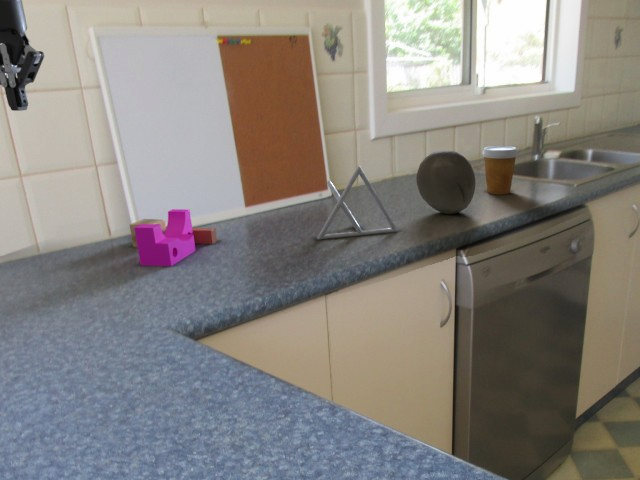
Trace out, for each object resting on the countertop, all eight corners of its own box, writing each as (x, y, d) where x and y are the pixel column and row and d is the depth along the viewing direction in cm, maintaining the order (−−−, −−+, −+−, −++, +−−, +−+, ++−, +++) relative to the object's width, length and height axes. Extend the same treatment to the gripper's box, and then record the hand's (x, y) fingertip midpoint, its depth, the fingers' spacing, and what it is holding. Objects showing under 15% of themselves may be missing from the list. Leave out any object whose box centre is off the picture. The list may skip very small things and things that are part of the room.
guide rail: (143, 241, 142) (140, 227, 141) (148, 238, 144) (146, 225, 143) (212, 244, 138) (210, 230, 137) (217, 242, 140) (215, 228, 139)
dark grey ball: (476, 207, 166) (477, 146, 161) (472, 221, 153) (473, 155, 148) (421, 206, 168) (420, 146, 163) (412, 219, 155) (411, 155, 150)
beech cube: (133, 247, 138) (129, 224, 136) (147, 241, 142) (143, 218, 140) (154, 249, 136) (150, 225, 135) (168, 242, 141) (164, 219, 139)
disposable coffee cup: (517, 189, 186) (519, 145, 182) (514, 196, 178) (516, 150, 173) (483, 188, 188) (484, 145, 184) (479, 195, 180) (480, 150, 175)
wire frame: (326, 243, 156) (382, 207, 156) (338, 269, 145) (399, 231, 145) (284, 183, 145) (345, 145, 145) (295, 207, 135) (360, 166, 134)
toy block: (171, 267, 125) (165, 228, 122) (140, 266, 126) (134, 227, 123) (205, 245, 138) (201, 209, 136) (177, 244, 139) (172, 209, 137)
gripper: (46, -1, 109) (67, 108, 115) (-20, 2, 112) (4, 108, 119) (11, -4, 103) (35, 112, 109) (-58, -1, 106) (-31, 112, 112)
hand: (19, 110), depth 114 cm, fingers closed
